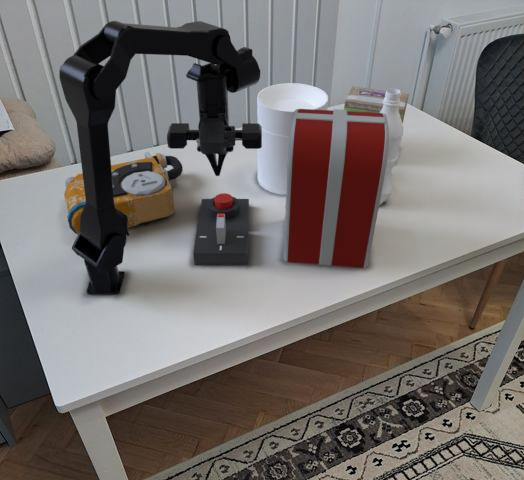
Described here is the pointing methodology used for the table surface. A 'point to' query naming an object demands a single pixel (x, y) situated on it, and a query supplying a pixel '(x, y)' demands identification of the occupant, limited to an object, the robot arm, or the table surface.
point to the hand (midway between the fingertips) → (217, 175)
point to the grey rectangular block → (221, 229)
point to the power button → (223, 201)
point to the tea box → (371, 101)
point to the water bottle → (391, 136)
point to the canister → (281, 128)
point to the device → (131, 190)
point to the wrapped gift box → (334, 185)
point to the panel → (221, 245)
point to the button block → (225, 211)
